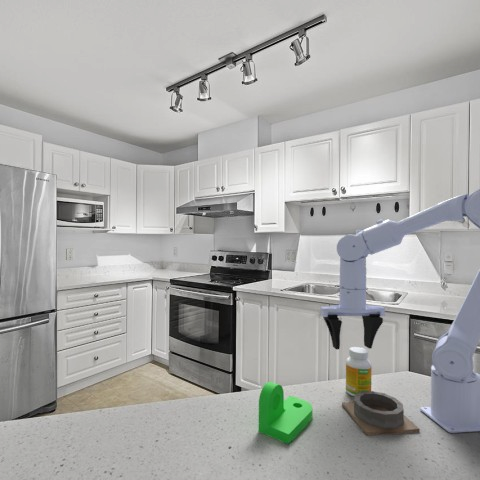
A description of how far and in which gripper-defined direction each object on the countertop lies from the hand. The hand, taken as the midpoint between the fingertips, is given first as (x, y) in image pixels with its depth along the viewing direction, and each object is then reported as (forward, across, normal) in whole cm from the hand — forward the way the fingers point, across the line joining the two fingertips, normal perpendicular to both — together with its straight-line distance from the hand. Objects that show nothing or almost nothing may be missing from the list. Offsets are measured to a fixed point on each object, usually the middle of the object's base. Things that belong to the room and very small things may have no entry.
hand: (352, 347), depth 72 cm
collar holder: (+10, 0, +11) cm, 15 cm away
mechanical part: (+10, +18, +11) cm, 23 cm away
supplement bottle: (+10, -1, +1) cm, 10 cm away
